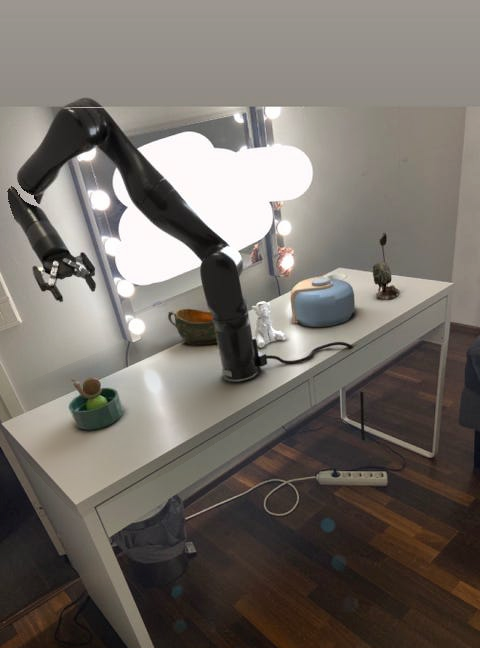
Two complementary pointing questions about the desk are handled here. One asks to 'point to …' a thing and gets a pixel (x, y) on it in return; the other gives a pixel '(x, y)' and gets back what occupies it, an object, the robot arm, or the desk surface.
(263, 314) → the seated beast figurine
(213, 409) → the desk surface
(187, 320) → the cup
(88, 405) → the snail figurine
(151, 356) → the desk surface
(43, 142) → the robot arm
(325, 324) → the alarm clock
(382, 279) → the plant with pod
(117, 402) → the bowl
